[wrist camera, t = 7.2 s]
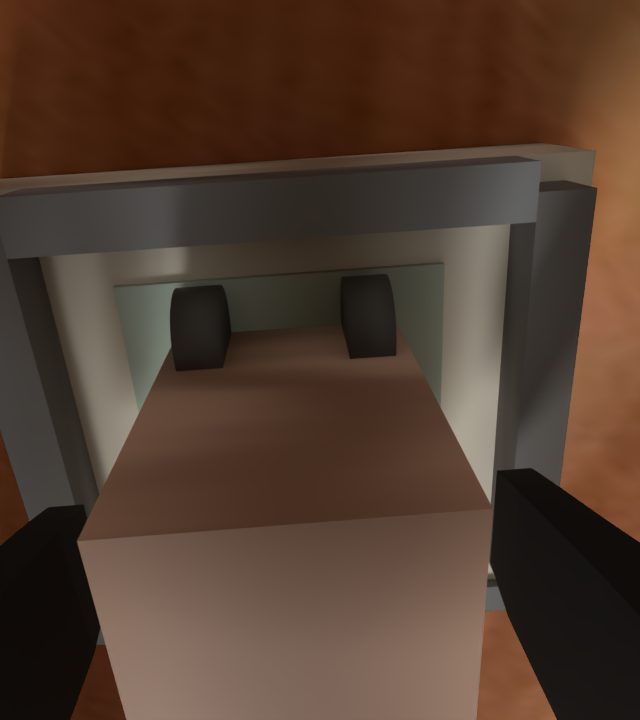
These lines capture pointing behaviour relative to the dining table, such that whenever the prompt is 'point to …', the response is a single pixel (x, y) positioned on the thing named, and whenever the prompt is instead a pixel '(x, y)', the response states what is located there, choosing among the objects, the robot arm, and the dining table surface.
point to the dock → (295, 292)
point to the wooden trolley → (291, 527)
